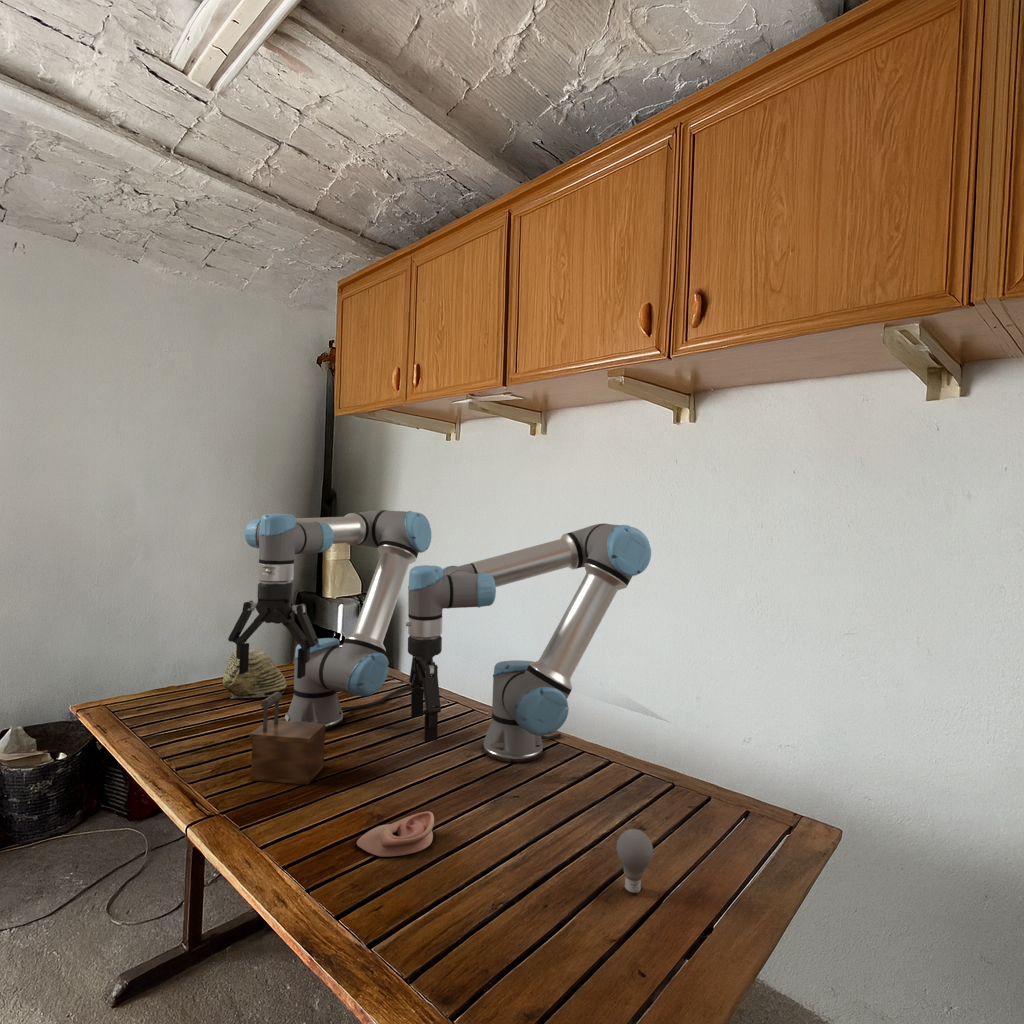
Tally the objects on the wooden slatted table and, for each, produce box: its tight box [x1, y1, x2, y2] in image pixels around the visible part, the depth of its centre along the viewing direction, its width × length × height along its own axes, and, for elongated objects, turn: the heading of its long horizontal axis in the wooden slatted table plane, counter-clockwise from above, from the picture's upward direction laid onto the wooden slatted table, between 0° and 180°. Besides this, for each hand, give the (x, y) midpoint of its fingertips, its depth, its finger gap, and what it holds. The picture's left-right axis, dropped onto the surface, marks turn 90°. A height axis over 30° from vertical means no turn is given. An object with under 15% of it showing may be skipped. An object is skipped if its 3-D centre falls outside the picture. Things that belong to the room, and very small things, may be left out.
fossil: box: [222, 647, 288, 699], centre depth 198 cm, size 9×18×15 cm, turn 132°
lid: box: [248, 692, 325, 744], centre depth 144 cm, size 14×9×8 cm
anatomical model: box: [356, 811, 435, 858], centre depth 118 cm, size 13×4×12 cm
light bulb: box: [615, 828, 654, 894], centre depth 106 cm, size 6×6×10 cm
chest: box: [250, 729, 326, 786], centre depth 144 cm, size 13×9×9 cm
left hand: (272, 674), depth 144 cm, fingers open, 13 cm apart
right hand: (423, 728), depth 143 cm, fingers open, 13 cm apart
